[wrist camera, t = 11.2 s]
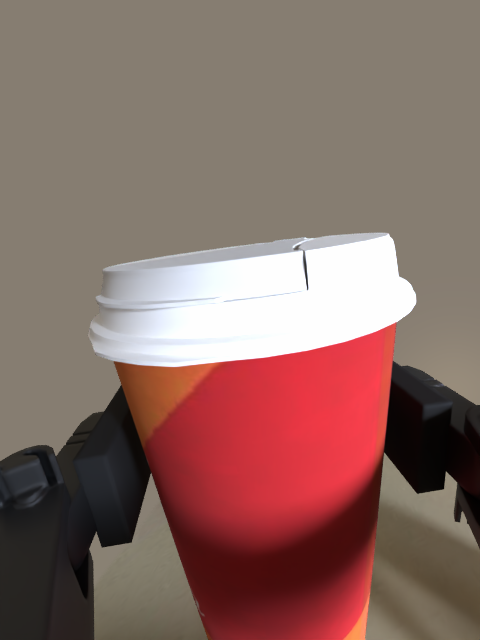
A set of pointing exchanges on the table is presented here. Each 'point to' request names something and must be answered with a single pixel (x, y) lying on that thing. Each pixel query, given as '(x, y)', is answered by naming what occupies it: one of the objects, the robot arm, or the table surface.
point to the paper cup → (264, 420)
